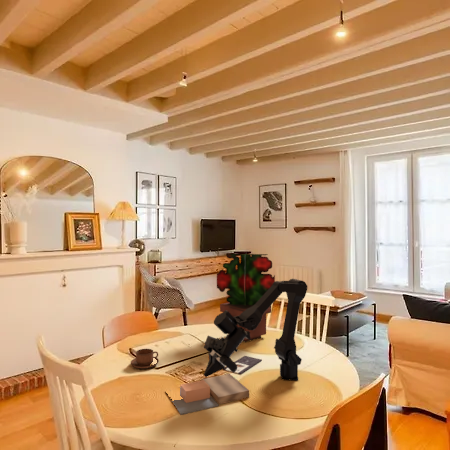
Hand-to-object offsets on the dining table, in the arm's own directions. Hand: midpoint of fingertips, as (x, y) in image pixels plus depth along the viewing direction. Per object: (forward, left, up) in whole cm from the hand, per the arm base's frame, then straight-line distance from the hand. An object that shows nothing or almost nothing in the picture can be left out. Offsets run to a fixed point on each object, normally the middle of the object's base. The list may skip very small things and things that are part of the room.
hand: (204, 376), depth 135 cm
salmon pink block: (-1, 0, -5) cm, 5 cm away
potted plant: (-13, -68, -7) cm, 70 cm away
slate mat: (+5, +3, -7) cm, 9 cm away
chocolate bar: (-13, -30, -8) cm, 33 cm away
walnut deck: (-7, -4, -7) cm, 11 cm away
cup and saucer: (+30, -26, -8) cm, 40 cm away
